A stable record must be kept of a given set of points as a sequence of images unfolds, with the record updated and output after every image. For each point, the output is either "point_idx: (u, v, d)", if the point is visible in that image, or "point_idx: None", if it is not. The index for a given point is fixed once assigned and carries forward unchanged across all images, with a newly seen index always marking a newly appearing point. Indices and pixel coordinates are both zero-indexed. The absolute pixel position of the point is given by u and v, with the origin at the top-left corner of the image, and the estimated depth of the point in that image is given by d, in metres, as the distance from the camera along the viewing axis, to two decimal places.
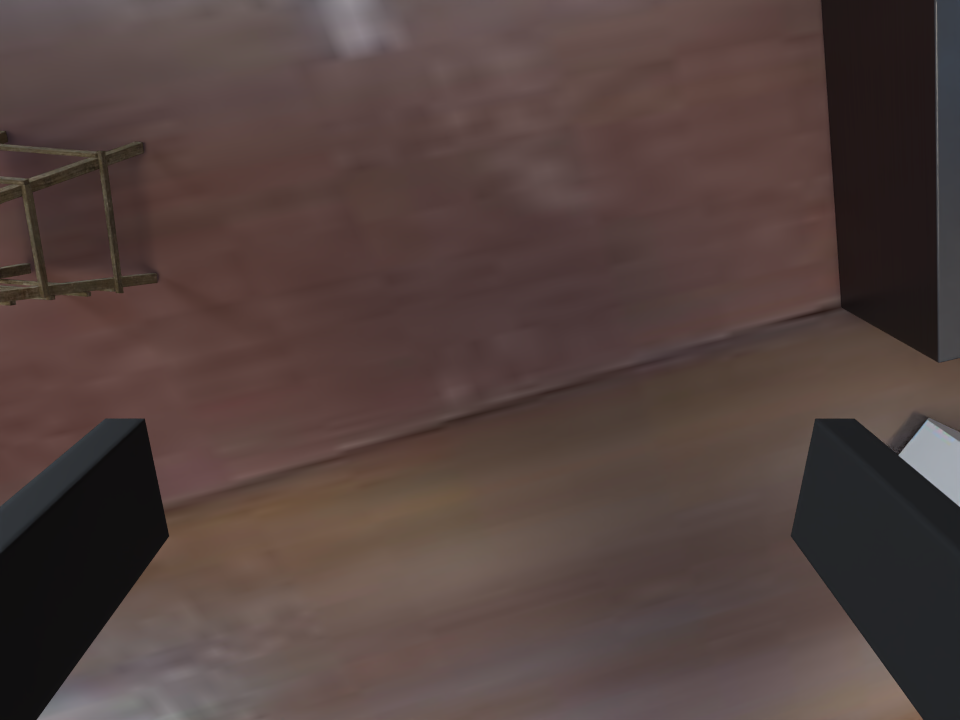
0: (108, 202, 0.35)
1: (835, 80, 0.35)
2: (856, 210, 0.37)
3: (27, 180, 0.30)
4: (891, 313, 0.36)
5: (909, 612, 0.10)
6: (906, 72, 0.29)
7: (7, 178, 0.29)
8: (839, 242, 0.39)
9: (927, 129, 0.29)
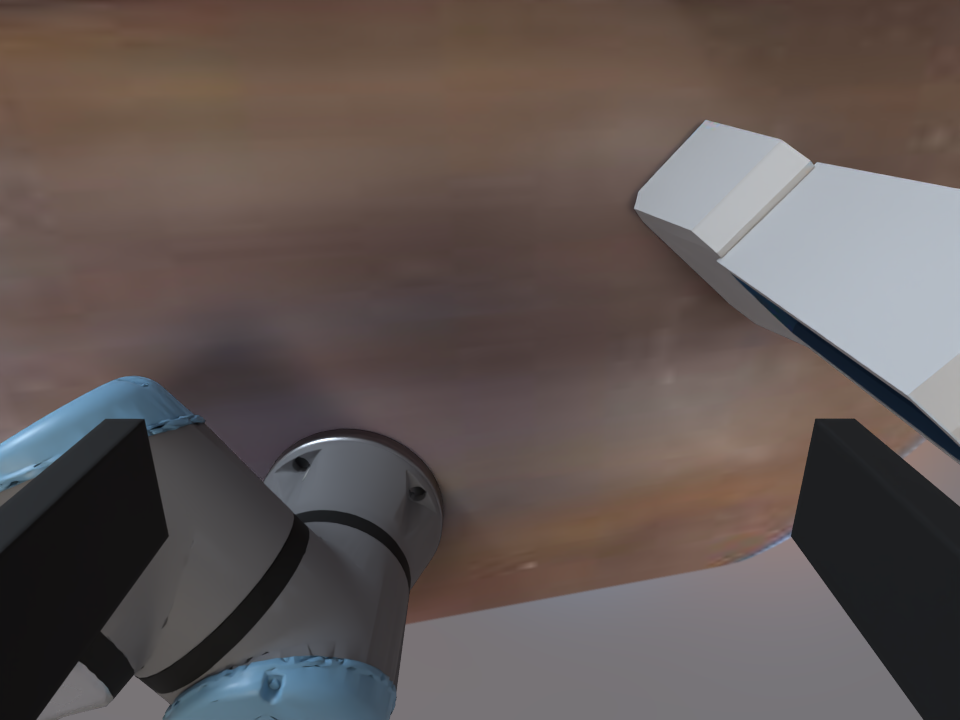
0: None
1: None
2: None
3: None
4: None
5: (909, 612, 0.10)
6: None
7: None
8: None
9: None
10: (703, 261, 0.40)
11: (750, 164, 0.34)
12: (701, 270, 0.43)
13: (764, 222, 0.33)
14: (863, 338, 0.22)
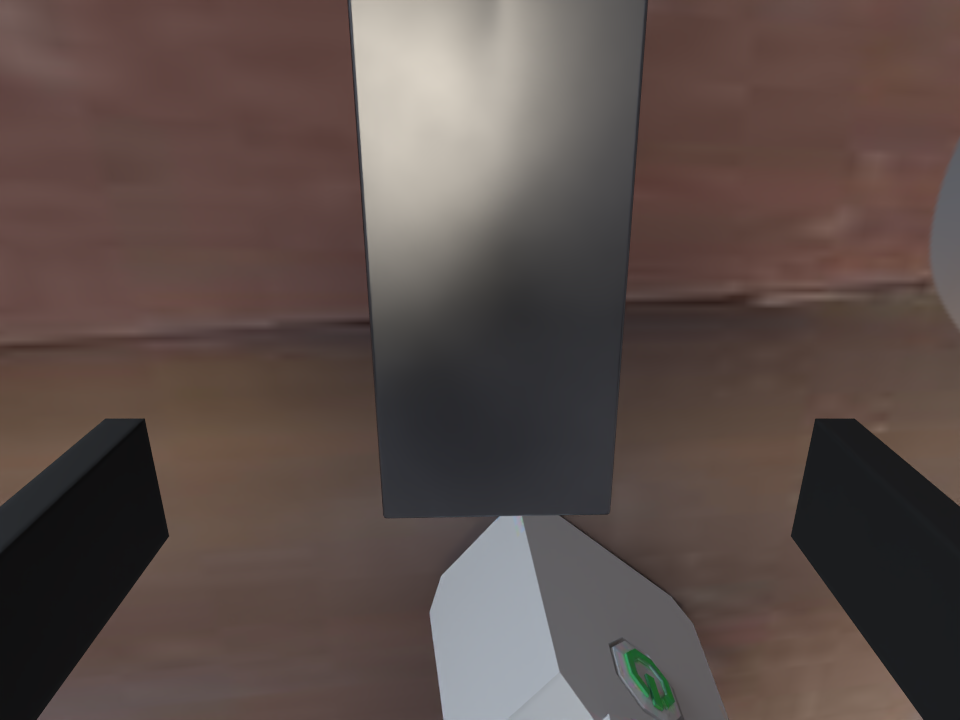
0: None
1: None
2: None
3: None
4: None
5: (909, 612, 0.10)
6: None
7: None
8: None
9: None
10: None
11: (524, 688, 0.24)
12: None
13: None
14: None
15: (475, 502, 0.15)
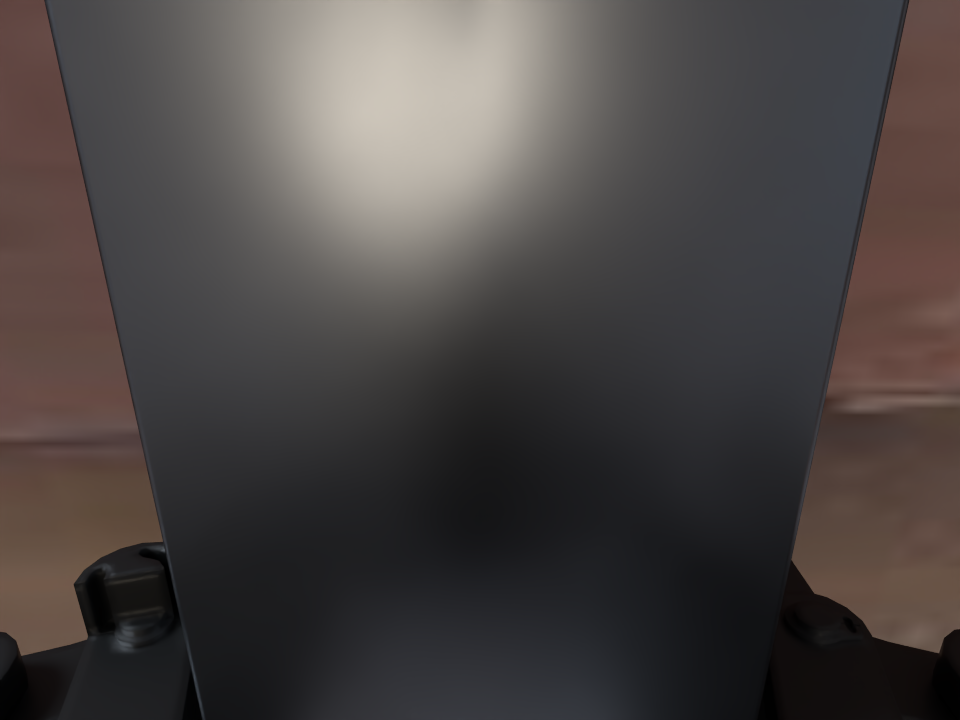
0: None
1: None
2: None
3: None
4: None
5: None
6: None
7: None
8: None
9: None
10: None
11: None
12: None
13: None
14: None
15: None
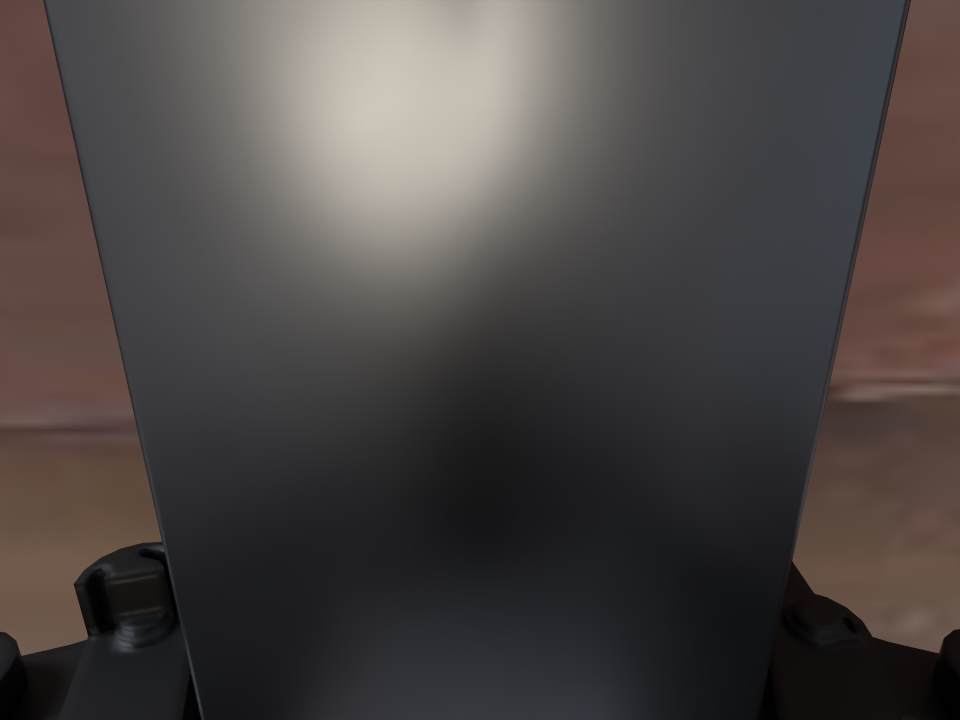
0: None
1: None
2: None
3: None
4: None
5: None
6: None
7: None
8: None
9: None
10: None
11: None
12: None
13: None
14: None
15: None
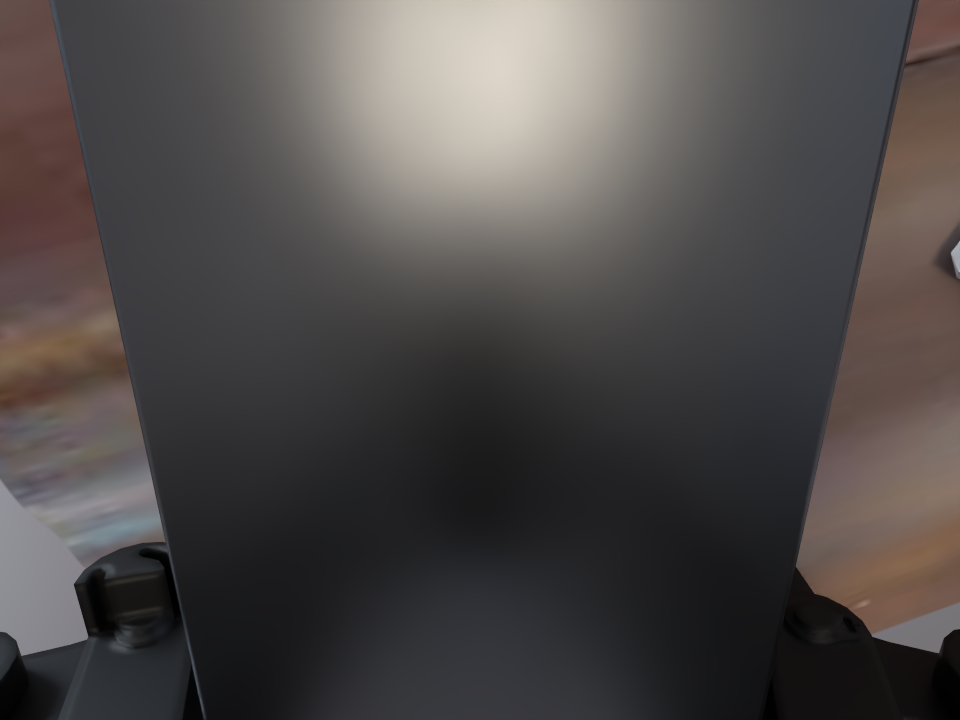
0: None
1: None
2: None
3: None
4: None
5: None
6: None
7: None
8: None
9: None
10: None
11: None
12: None
13: None
14: None
15: None
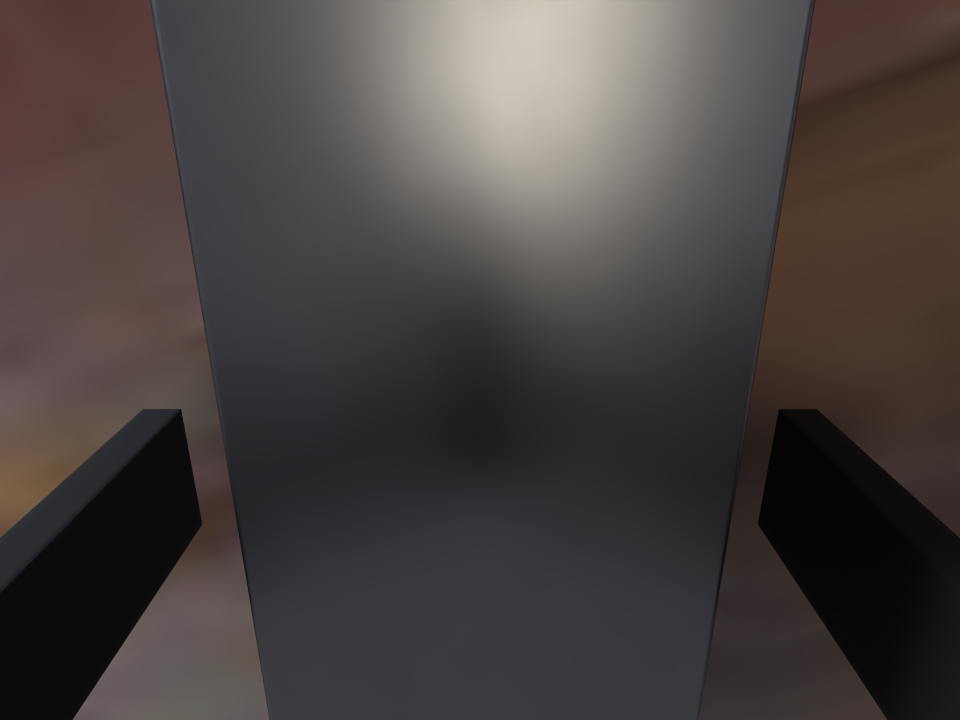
0: None
1: None
2: None
3: None
4: None
5: (859, 593, 0.10)
6: None
7: None
8: None
9: None
10: None
11: None
12: None
13: None
14: None
15: None
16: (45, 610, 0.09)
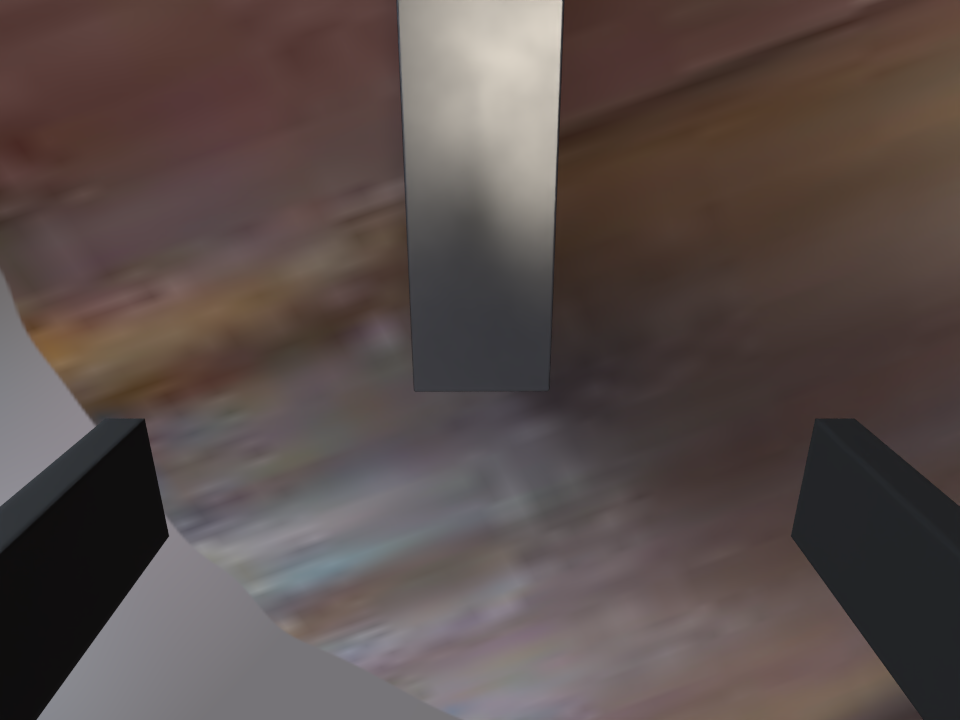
0: None
1: None
2: None
3: None
4: None
5: (909, 612, 0.10)
6: None
7: None
8: None
9: None
10: None
11: None
12: None
13: None
14: None
15: (468, 381, 0.26)
16: None
